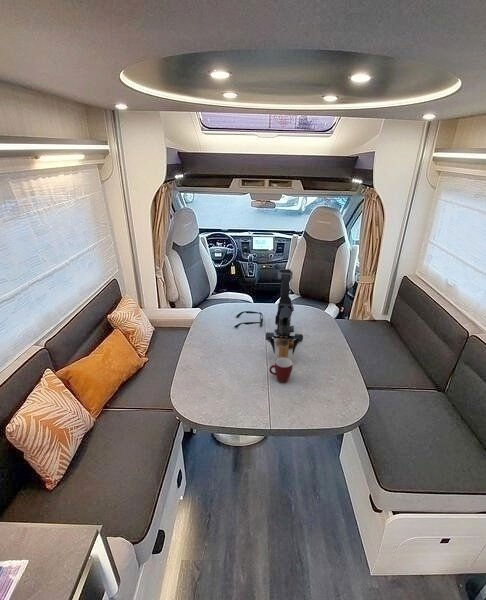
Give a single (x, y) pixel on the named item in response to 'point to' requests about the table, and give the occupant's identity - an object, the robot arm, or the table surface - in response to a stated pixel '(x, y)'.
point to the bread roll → (287, 341)
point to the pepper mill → (283, 349)
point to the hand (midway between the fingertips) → (283, 353)
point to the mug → (282, 369)
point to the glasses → (249, 322)
